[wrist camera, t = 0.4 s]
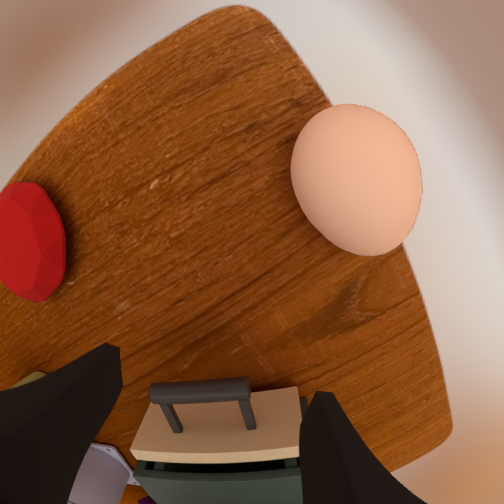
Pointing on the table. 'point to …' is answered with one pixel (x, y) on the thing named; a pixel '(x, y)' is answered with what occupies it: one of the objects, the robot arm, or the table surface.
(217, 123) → the table surface
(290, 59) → the table surface
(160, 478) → the cabinet
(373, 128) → the egg
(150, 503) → the perfume bottle
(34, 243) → the gemstone
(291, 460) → the drawer
